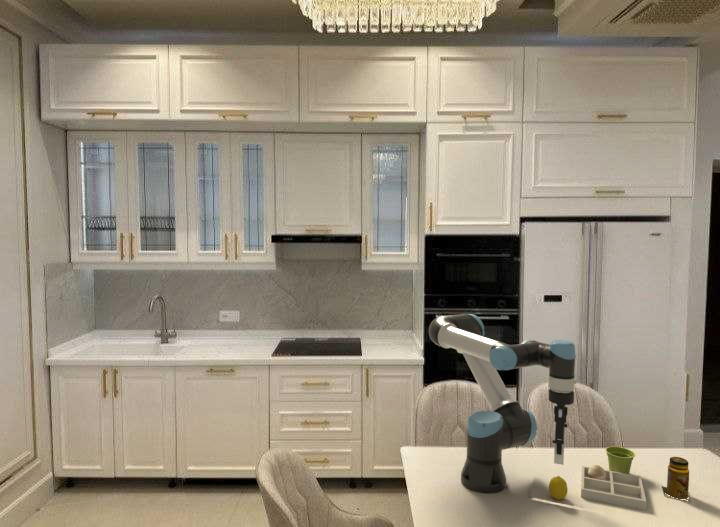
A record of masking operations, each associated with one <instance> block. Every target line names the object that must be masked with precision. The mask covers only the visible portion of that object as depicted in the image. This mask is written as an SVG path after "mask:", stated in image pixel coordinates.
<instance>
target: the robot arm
mask: <svg viewBox="0 0 720 527" xmlns="http://www.w3.org/2000/svg"><path fill="white" fill-rule="evenodd" d="M485 334H486V333H485V326H484V323H483V321H482V319H481V318H479V316H477V315H476V314H474V313H461V314H448V315H439V316H437V317H436V318H434V319H433V320H432V321H431V322H430V324H429V326H428V336H429V339H430V340H431V341H432V343H434V344H435V345H437V346H438V347H441V348H443V349H454V350H456V352H457V353H458V354H462V355H463V357H464V359H465V361H466V364H467V365H468V367H469V369H470V371H471V373H472V375H473V377H474V379H475V381H476V383H477V385H478V386H479V389H480V391H481V392H482V395H483V396H484V398H485V400H486V403H487V405H488V406H489V408H490V410H480V411H476V412H474V413H472V414H470V415H469V417H468V420H467V426H466V458H465V461H464V465H463V467H462V470H461V474H460V481H461V484H462V485H463V486H464V487H466V488H467V489H469V490H472V491H475V492H478V493H488V494H491V493H499V492H502V491H503V490H504V489H506V487H507V476H506V473H505V470H504V466H503V462H502V457H503V456H502V455H503V453H502V452H503V450H507V449H511V448H515V447H520V446H521V447H523V446H524V445H527V444H529V443H532V442H533V441H534V440H535V438H536V436H537V430H538V425H537V424H538V423H537V420H536V417H535V415H534V414H533V413H532V411H530V410H528V409H527V408H522V406H521V404H520V402H519V401H518V400H515V399H513V398H512V396H511V394H510V392H509V391H508V389H507V387H506V385H505V383H504V381H503V380H502V378H501V376H500V374H499V372H498V371H510V370H514V369H520V368H527V367H533V366H534V367H535V366H540V367H544V368H547V369H548V371H549V372H548V373H549V375H548V388H549V389H548V401H549V402H551V403H552V404H556V405H554V407H553V408H554V409H553V414H554V422H555V431H554V432H555V434H554V439H552V440H551V441H552V442H551V443H552V444H554V452H553V453H554V454H553V455H554V456H553V463H554V464H555V465H556V464H557V465H564V460H565V455H564V454H565V447H566V446H565V445H566V443H565V442H566V441H565V440H566V428H568V423H567V416H568V409H569V408H568V407H567V405H568V406H570V405H573V404H574V403H575V391H574V390H575V385H576V384H577V380H575V370H576V369H575V367H576V358H577V356H576V346H575V343H574V342H572V341H570V340H569V341H568V340H564V339H554V340H551V341H550V343H543V342H540V341H537V340H534V339H533V340H532V339H531V340H530V339H525V340H523V341H522V342H520V343H519V344H518V343H517V344H508V343H505V342H502V341H499V340H497V339H492V338H489V337H485Z"/></svg>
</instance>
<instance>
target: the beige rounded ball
mask: <svg viewBox="0 0 720 527" xmlns="http://www.w3.org/2000/svg"><path fill="white" fill-rule="evenodd" d="M589 467H590V468H589V470H588V475H589V477H590V478H593V479H599V480H605V478H606V472H605V470H606V469H605V468H604V467H602V466H601V465H597V464H594V465H592V466H589Z"/></svg>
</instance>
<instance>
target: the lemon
mask: <svg viewBox="0 0 720 527" xmlns="http://www.w3.org/2000/svg"><path fill="white" fill-rule="evenodd" d="M548 484H549V485H548V491H549V494H550V496H552V498H554V499H555V500H563V499H565V498H566V497H567V495H568V484H567V482H566V480H565V479H564V478H563V477H561V476H560V475H557V476H554V477H552V478H551V479H550V480H549V483H548Z"/></svg>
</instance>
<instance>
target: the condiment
mask: <svg viewBox="0 0 720 527" xmlns="http://www.w3.org/2000/svg"><path fill="white" fill-rule="evenodd" d="M668 464H669V465H668V466H667V477H666V478H667V481H666V486H664V485H661V490H662V493H663V496H664V497H667V498H671V499H674V498H678V499H686V500H688V502H687V503H690V502H691V500H690V499H691V498H690V493H689V484H690V469H689V460H687V458H683V457H680V456H671V457H669V463H668ZM665 493H666V494H668V495H670V496H672V497H674V498H672V497H669V496H667V495H666V494H665ZM688 495H689V496H688ZM688 497H689V499H687V498H688ZM678 499H677V500H678Z"/></svg>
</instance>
